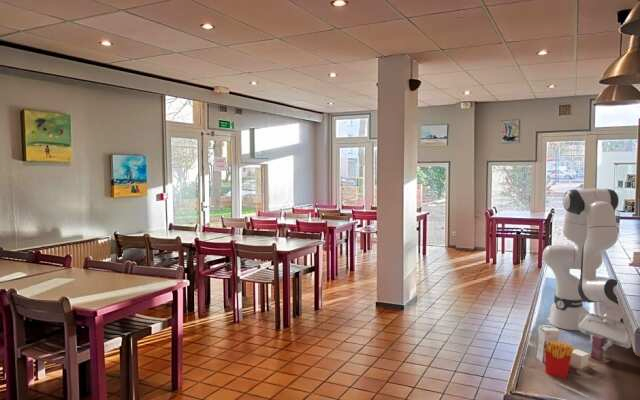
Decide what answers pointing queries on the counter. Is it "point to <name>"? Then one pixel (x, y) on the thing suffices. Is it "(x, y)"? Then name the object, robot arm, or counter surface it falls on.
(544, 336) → the syrup box
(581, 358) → the cream cube
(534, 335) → the counter surface
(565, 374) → the french fries
